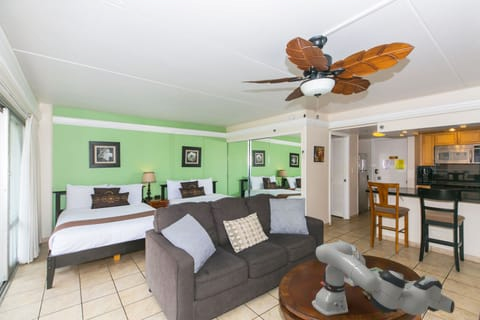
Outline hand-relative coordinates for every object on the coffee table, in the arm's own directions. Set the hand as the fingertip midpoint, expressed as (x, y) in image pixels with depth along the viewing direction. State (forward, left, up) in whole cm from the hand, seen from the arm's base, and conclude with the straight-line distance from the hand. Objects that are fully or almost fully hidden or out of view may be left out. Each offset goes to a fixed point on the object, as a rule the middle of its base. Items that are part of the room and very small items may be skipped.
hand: (399, 282), depth 154 cm
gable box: (-17, +28, -7) cm, 34 cm away
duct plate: (+7, +20, -6) cm, 22 cm away
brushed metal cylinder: (0, 0, -6) cm, 6 cm away
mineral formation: (-22, +1, -7) cm, 23 cm away
